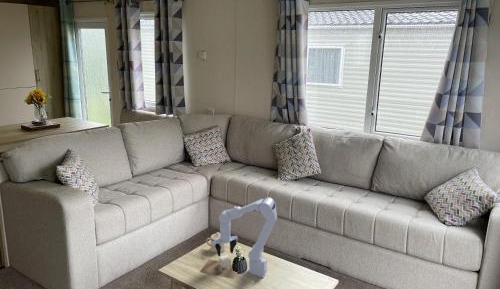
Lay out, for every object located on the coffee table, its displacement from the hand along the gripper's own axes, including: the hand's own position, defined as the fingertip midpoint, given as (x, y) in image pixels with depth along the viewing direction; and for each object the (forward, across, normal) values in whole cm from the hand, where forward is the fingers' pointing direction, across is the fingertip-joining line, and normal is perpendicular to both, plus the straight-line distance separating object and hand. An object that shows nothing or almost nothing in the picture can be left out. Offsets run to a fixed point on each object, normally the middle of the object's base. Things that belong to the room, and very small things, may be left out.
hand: (225, 254), depth 225 cm
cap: (+7, 0, 0) cm, 7 cm away
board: (+8, +4, +2) cm, 9 cm away
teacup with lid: (+8, -3, -20) cm, 22 cm away
